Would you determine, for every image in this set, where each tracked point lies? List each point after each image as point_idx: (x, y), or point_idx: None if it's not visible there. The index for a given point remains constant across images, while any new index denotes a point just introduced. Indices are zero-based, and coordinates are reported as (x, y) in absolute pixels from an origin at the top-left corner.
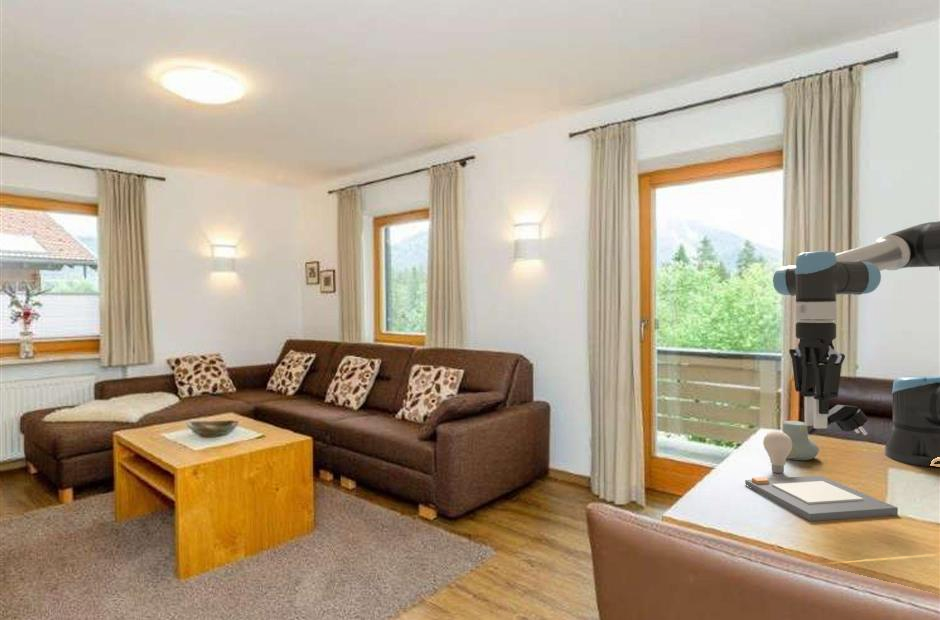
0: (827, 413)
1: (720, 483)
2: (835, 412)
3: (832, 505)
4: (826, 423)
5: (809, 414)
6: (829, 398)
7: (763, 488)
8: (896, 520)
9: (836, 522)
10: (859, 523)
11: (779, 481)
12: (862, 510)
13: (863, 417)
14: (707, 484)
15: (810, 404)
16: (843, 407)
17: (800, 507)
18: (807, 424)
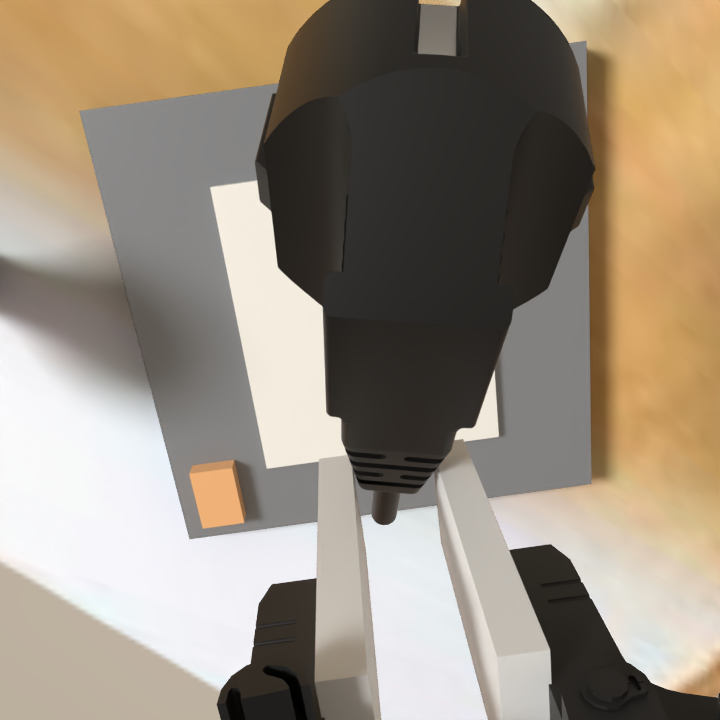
0: (553, 556)
1: (161, 600)
2: (475, 413)
3: (522, 343)
4: (472, 468)
5: (369, 603)
6: (675, 706)
7: (303, 515)
8: (627, 106)
9: (604, 379)
10: (627, 296)
11: (204, 400)
12: (587, 245)
13: (582, 105)
14: (178, 650)
15: (374, 679)
16: (502, 339)
17: (527, 483)
18: (365, 555)
